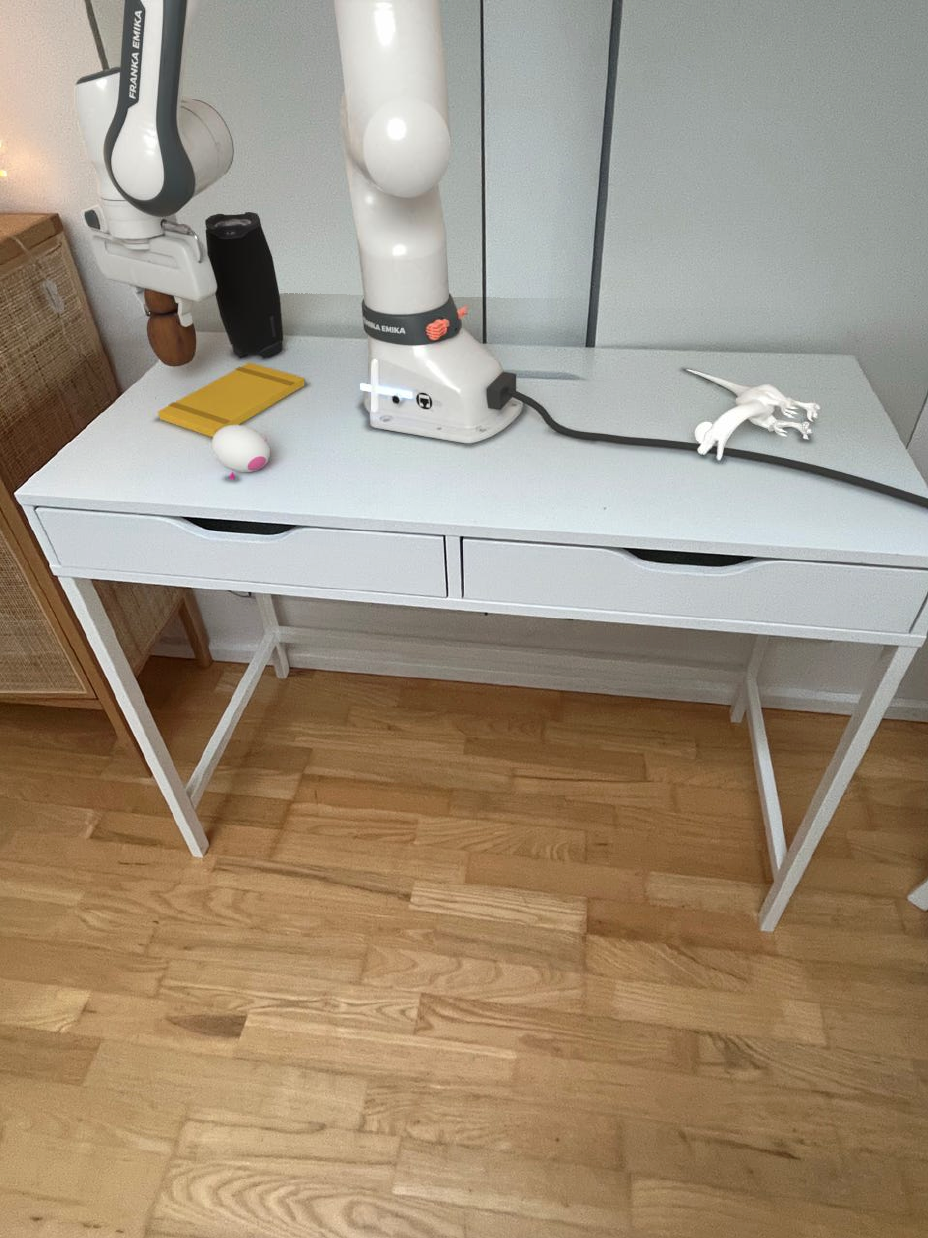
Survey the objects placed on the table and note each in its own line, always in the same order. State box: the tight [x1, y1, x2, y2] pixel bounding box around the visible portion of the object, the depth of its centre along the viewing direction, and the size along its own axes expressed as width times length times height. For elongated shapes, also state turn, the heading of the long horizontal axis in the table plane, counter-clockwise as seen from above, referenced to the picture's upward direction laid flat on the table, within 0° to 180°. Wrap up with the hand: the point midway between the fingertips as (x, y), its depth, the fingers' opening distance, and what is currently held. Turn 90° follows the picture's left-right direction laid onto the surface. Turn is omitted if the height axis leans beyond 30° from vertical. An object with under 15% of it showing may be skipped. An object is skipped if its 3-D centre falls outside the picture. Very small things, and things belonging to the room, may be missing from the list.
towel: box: [157, 362, 306, 438], centre depth 118 cm, size 11×18×1 cm, turn 147°
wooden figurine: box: [144, 289, 197, 368], centre depth 117 cm, size 7×6×15 cm
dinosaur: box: [685, 368, 821, 461], centre depth 110 cm, size 25×9×16 cm
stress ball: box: [211, 424, 271, 481], centre depth 104 cm, size 8×8×7 cm
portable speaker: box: [204, 211, 284, 359], centre depth 125 cm, size 9×9×20 cm
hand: (168, 320), depth 118 cm, fingers closed on wooden figurine, 5 cm apart
